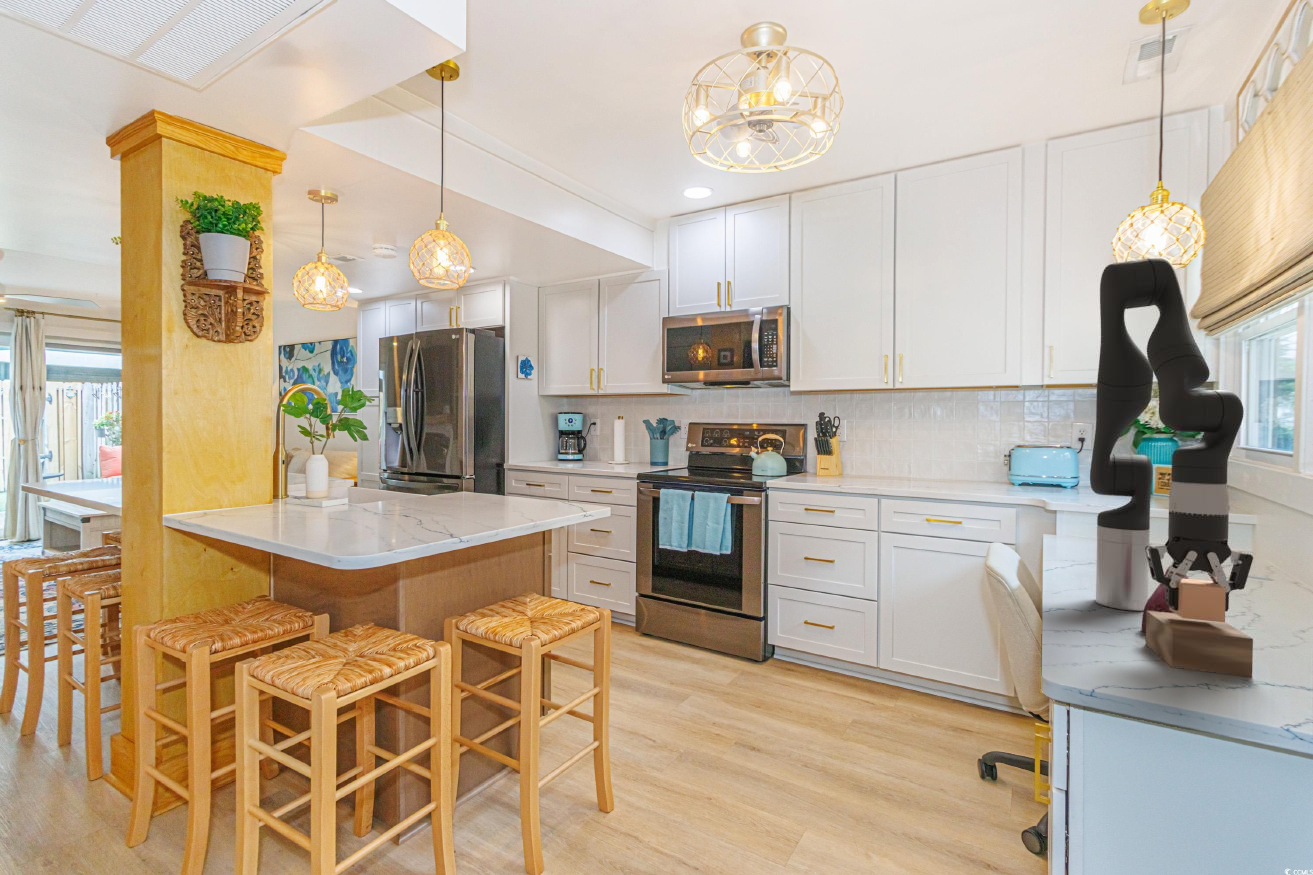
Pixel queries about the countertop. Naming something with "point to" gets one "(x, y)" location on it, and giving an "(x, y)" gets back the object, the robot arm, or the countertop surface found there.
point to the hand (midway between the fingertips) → (1195, 610)
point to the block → (1201, 600)
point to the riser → (1199, 644)
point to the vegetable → (1157, 602)
